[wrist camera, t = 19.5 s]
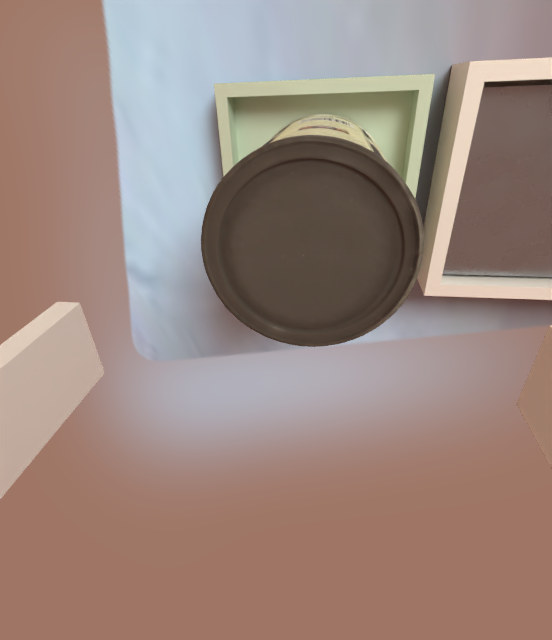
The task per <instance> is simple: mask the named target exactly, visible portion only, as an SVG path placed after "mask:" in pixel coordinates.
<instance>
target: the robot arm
mask: <svg viewBox="0 0 552 640" xmlns="http://www.w3.org/2000/svg"><path fill="white" fill-rule="evenodd" d="M104 373H105V372H104V369H103V366H102V363H101V361H100V358H99V355H98V352H97V350H96V347H95V344H94V341H93V338H92V336H91V333H90V330H89V327H88V324H87V322H86V319H85V316H84V313H83V310H82V308H81V305H80V303H70V302H56V303H55V304H54V305H52V306H51V307H50V308H49V309H47V310H46V311H45V312H43V313H42V314H41V315H39V316H38V317H37V318H36V319H34V320H33V321H31V322H30V323H29V324H27V325H26V326H25V327H24V328H22V329H21V330H20V331H18V332H17V333H16V334H14V335H13V336H12V337H10V338H9V339H8V340H7V341H5V342H4V343H3V344H1V345H0V498H2V496H3V495H4V494H5V493H6V491H7V490H8V489H9V488H10V487H11V486H12V484H13V483H14V482H15V481H16V479H17V478H18V477H19V476H20V474H21V473H22V472H23V471H24V470H25V469H26V467H27V466H28V465H29V464H30V463H31V461H32V460H33V459H34V458H35V457H36V455H37V454H38V453H39V452H40V450H41V449H42V448H43V447H44V445H45V444H46V443H47V442H48V441H49V440H50V438H51V437H52V436H53V435H54V434H55V432H56V431H57V430H58V429H59V427H60V426H61V425H62V424H63V423H64V421H65V420H66V419H67V418H68V416H69V415H70V414H71V413H72V412H73V410H74V409H75V408H76V407H77V406H78V405H79V403H80V402H81V401H82V399H83V398H84V397H85V396H86V395H87V394H88V392H89V391H90V390H91V389H92V388H93V386H94V385H95V384H96V383H97V381H98V380H99V379H100V378H101V377H102V375H103V374H104ZM517 406H518V408H519V409H520V411H521V413H522V415H523V417H524V419H525V420H526V422H527V424H528V426H529V428H530V430H531V432H532V433H533V435H534V437H535V439H536V441H537V443H538V444H539V446H540V448H541V450H542V451H543V454H544V456H545V457H546V459H547V461H548V463H549V465H550V467H551V468H552V325H549V328H548V330H547V333H546V335H545V337H544V340H543V342H542V345H541V347H540V349H539V352H538V354H537V356H536V359H535V361H534V364H533V366H532V368H531V371H530V373H529V376H528V378H527V380H526V383H525V385H524V388H523V390H522V392H521V395H520V397H519V399H518V402H517Z"/></svg>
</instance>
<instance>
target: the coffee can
mask: <svg viewBox="0 0 552 640" xmlns="http://www.w3.org/2000/svg"><path fill="white" fill-rule="evenodd" d="M201 250H202V257H203V262H204V266H205V270H206V273H207V275H208V278H209V280H210V282H211V284H212V286H213V288H214V290H215V292H216V294H217V295H218V297H219V298H220V299H221V301H222V302H223V304H224V305H225V306H226V308H227V309H228V310H229V311H230V312H231V313H232V314H233V315H234V316H235V317H236V318H237V319H239V320H240V321H241V322H242V323H244V324H245V325H246V326H248V327H249V328H251V329H253V330H254V331H256V332H258V333H260V334H262V335H264V336H265V337H268V338H270V339H273V340H276V341H279V342H283V343H287V344H292V345H298V346H313V347H315V346H328V345H334V344H339V343H344V342H347V341H350V340H353V339H356V338H358V337H360V336H363V335H365V334H366V333H368V332H370V331H372V330H374V329H375V328H377V327H378V326H380V325H381V324H382V323H384V322H385V321H386V320H387V319H389V318H390V317H391V316H392V315H393V314H394V313H395V312H396V311H397V310H398V308H399V307H400V306H401V305H402V304H403V302H404V301H405V300H406V298H407V297H408V295H409V294H410V292H411V290H412V288H413V286H414V284H415V282H416V280H417V277H418V274H419V271H420V268H421V264H422V260H423V252H424V230H423V223H422V217H421V214H420V211H419V207H418V205H417V202H416V200H415V198H414V196H413V194H412V192H411V191H410V189H409V188H408V186H407V184H406V183H405V182H404V180H403V179H402V177H401V176H400V175H399V174H398V172H397V171H396V170H395V169H394V168H393V167H392V166H391V165H390V164H389V163H388V162H387V160H386V159H385V157H384V156H383V154H382V153H381V150H380V148H379V146H378V144H377V143H376V141H375V140H374V138H373V137H372V136H371V135H370V134H369V133H368V132H367V131H366V130H365V129H364V128H363V127H362V126H360V125H359V124H358V123H356V122H354V121H352V120H350V119H349V118H345V117H342V116H339V115H334V114H313V115H308V116H304V117H301V118H298V119H296V120H293V121H292V122H290V123H288V124H287V125H285V126H284V127H283V128H281V129H280V130H279V131H278V132H277V133H276V134H275V135H274V136H273V137H272V138H271V139H270V140H269V141H268V142H267V143H266V144H264V145H263V146H262V147H260V148H258V149H257V150H255V151H253V152H251V153H250V154H248V155H247V156H246V157H244V158H243V159H241V160H240V161H239V162H238V163H237V164H236V165H234V166H233V167H232V168H231V169H230V170H229V171H228V172H227V174H226V175H225V176H224V177H223V178H222V180H221V181H220V183H219V184H218V186H217V187H216V189H215V191H214V192H213V194H212V196H211V198H210V201H209V203H208V206H207V209H206V212H205V216H204V220H203V225H202V235H201Z"/></svg>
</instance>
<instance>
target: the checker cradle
mask: <svg viewBox="0 0 552 640" xmlns="http://www.w3.org/2000/svg"><path fill="white" fill-rule="evenodd" d="M527 85H552V58H534V59H513V60H492V61H471V62H465V63H459V64H454V65H452V69H451V74H450V80H449V86H448V91H447V97H446V103H445V108H444V114H443V119H442V125H441V131H440V136H439V142H438V148H437V153H436V159H435V165H434V170H433V176H432V182H431V187H430V193H429V199H428V204H427V210H426V216H425V221H424V227H423V230H424V252H423V260H422V264H421V268H420V271H419V274H418V277H417V279H418V282H419V284H420V287H421V289H422V292H423V294H424V296H450V297H479V298H509V299H538V300H552V277H534V276H496V275H458V274H443V269H444V264H445V260H446V255H447V251H448V246H449V242H450V237H451V232H452V228H453V223H454V219H455V214H456V210H457V205H458V200H459V196H460V191H461V187H462V182H463V178H464V173H465V168H466V164H467V159H468V155H469V150H470V146H471V141H472V136H473V132H474V127H475V123H476V118H477V114H478V109H479V104H480V100H481V95H482V91H483V87H501V86H527Z"/></svg>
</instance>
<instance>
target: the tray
mask: <svg viewBox="0 0 552 640" xmlns="http://www.w3.org/2000/svg"><path fill="white" fill-rule="evenodd" d="M434 77H435V74H424V75H401V76H379V77H356V78H333V79H310V80H288V81H265V82H242V83H220V84H214V89H215V99H216V108H217V118H218V128H219V137H220V147H221V156H222V166H223V176H225V175H226V174H227V172H228V171H229V170H230V169H231V168H232V167H233V166H234V165H236V164H237V163H238V162H239V161H240V160H241V159H243V158H244V157H246V156H247V155H248V154H250V153H251V152H253V151H255V150H257V149H258V148H260V147H262V146H263V145H264V144H266V143H267V142H268V141H269V140H270V139H271V138H272V137H273V136H274V135H275V134H276V133H277V132H278V131H279V130H280V129H281V128H283V127H284V126H285V125H287V124H288V123H290V122H292V121H293V120H296V119H298V118H301V117H304V116H308V115H313V114H334V115H339V116H342V117H345V118H349V119H350V120H352V121H354V122H356V123H358V124H359V125H360V126H362V127H363V128H364V129H365V130H366V131H367V132H368V133H369V134H370V135H371V136H372V137H373V138H374V140H375V141H376V143H377V144H378V146H379V148H380V150H381V153H382V154H383V156H384V157H385V159H386V160H387V162H388V163H389V164H390V165H391V166H392V167H393V168H394V169H395V170H396V171H397V172H398V174H399V175H400V176H401V177H402V179H403V180H404V182H405V183H406V184H407V186H408V188H409V189H410V191H411V192H412V194H413V196H414V198H415V197H416V191H417V185H418V178H419V172H420V166H421V159H422V153H423V147H424V140H425V134H426V128H427V121H428V115H429V109H430V102H431V96H432V90H433V84H434Z"/></svg>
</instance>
